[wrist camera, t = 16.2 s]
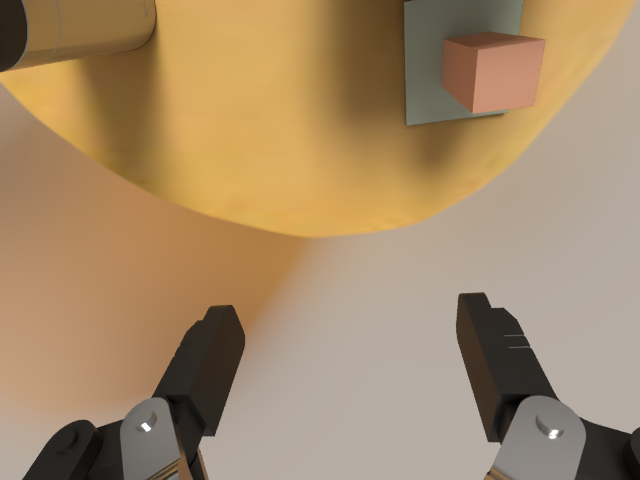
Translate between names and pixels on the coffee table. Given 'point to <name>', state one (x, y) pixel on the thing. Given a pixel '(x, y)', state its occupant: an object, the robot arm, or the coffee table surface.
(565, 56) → the coffee table surface
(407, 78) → the sage mat
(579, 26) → the coffee table surface
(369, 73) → the coffee table surface
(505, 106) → the terracotta block
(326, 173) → the coffee table surface
